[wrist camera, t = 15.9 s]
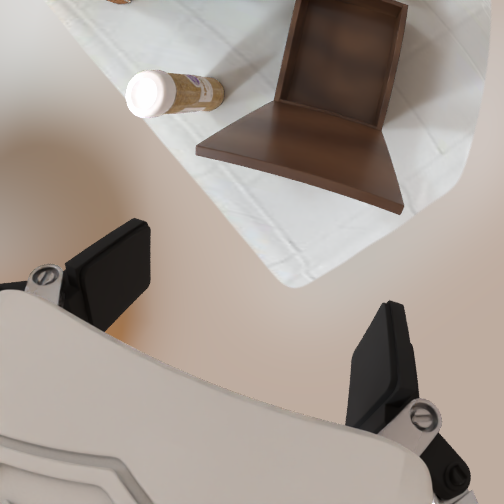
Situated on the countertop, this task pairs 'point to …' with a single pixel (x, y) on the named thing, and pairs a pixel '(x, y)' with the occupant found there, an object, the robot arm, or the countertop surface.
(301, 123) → the lid
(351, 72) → the chest
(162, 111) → the sprinkles bottle
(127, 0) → the pancake mix bag
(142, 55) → the countertop surface
